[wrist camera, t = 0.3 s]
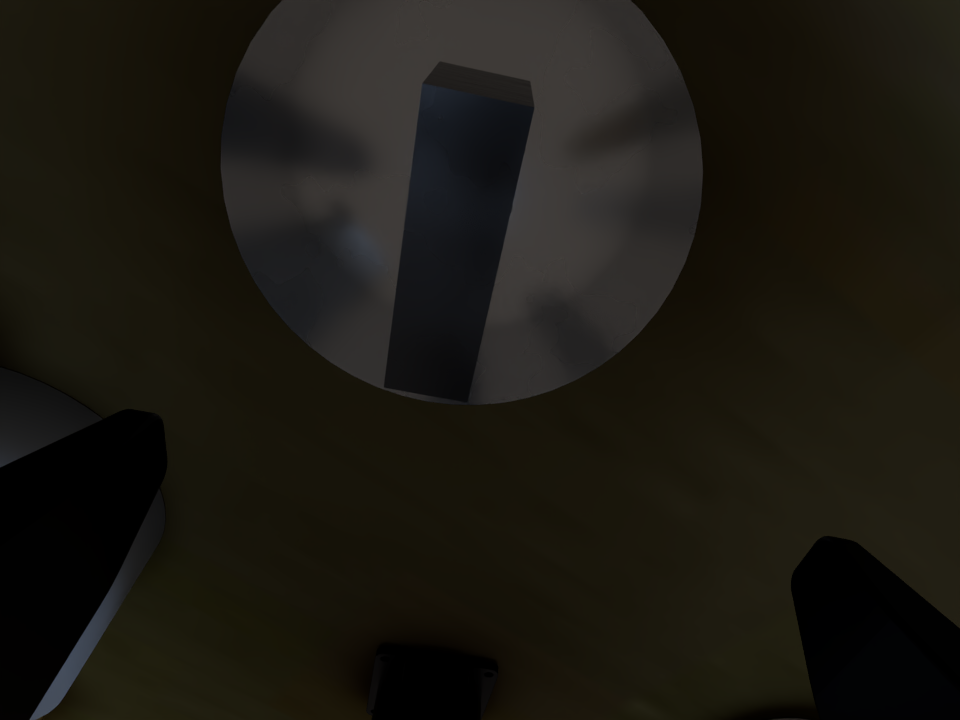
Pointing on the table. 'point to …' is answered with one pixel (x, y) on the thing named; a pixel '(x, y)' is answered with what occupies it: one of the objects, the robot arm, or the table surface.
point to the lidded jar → (789, 719)
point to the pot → (33, 425)
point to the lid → (462, 186)
